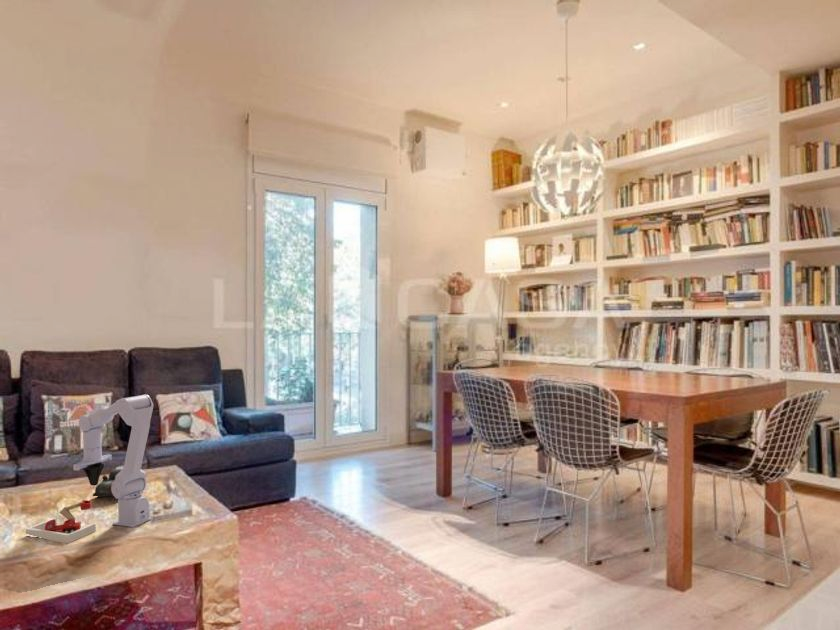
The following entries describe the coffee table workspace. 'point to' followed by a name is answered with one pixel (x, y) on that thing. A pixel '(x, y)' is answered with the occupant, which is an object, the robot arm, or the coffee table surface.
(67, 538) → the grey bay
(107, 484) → the dark grey lumpy shape
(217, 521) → the coffee table surface
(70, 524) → the toy fire truck
